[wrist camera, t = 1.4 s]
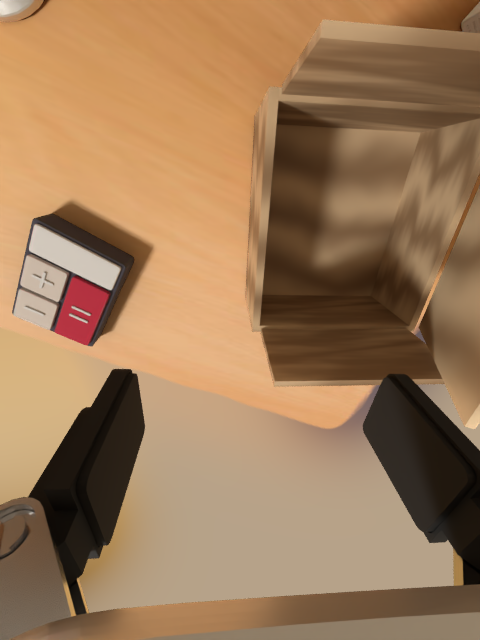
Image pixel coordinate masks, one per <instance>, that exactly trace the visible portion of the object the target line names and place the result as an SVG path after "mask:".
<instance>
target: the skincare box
mask: <svg viewBox="0 0 480 640" xmlns="http://www.w3.org/2000/svg"><path fill="white" fill-rule="evenodd" d="M461 28H462V31H463V32H471V33H480V2H479V3H478V4H477V5H476V6H475V7H474V9H473V10H472V11H471V12H470V13H469V14H468V15H467V16H466V18H465V19H464V20H463V21H462V22H461Z"/></svg>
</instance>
